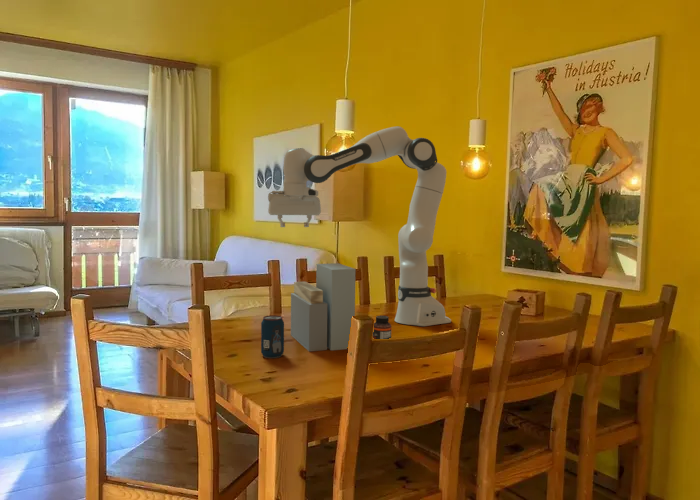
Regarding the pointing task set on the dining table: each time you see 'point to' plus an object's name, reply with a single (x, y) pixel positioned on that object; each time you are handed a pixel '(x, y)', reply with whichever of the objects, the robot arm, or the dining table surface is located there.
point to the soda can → (272, 336)
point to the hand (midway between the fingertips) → (294, 227)
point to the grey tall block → (337, 301)
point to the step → (309, 323)
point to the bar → (308, 292)
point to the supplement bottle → (382, 328)
